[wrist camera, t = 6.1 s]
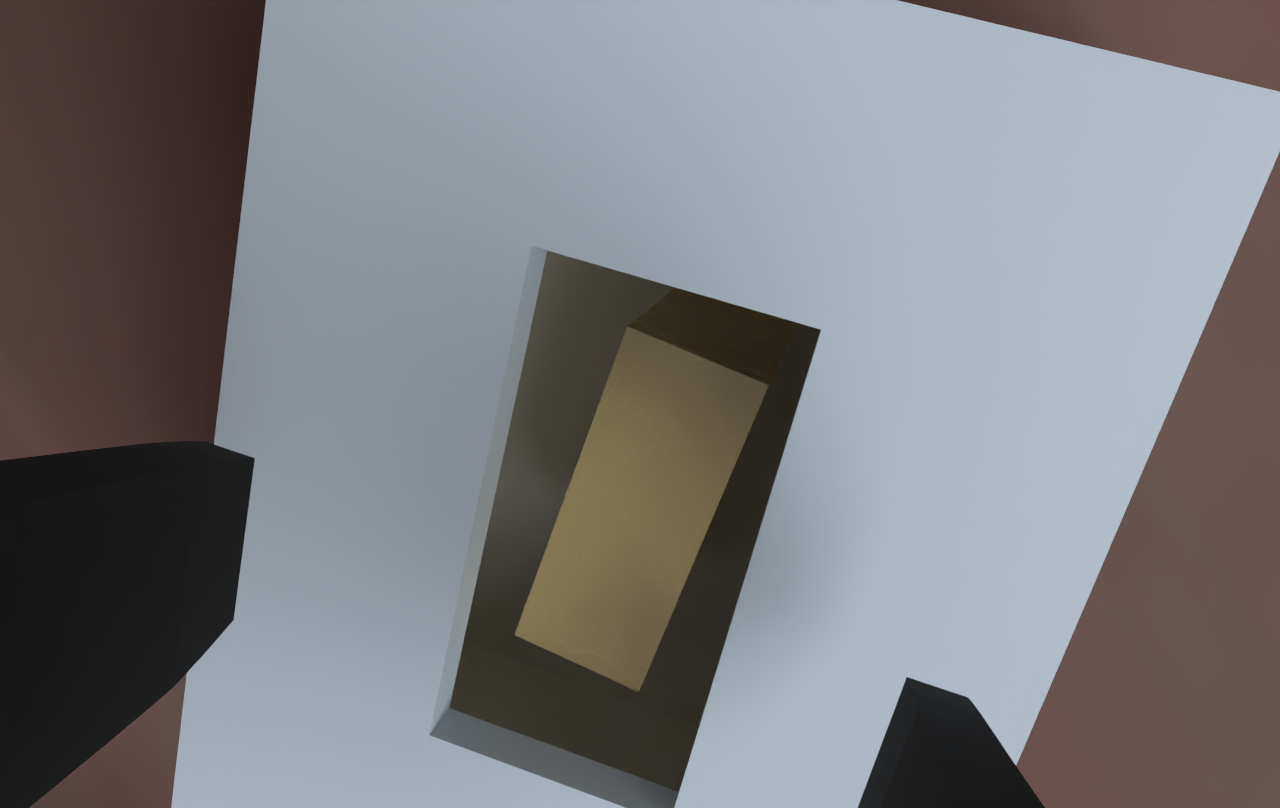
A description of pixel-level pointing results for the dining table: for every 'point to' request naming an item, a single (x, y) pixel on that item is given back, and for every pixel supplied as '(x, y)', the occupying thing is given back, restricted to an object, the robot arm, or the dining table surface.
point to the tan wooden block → (651, 480)
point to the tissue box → (589, 342)
